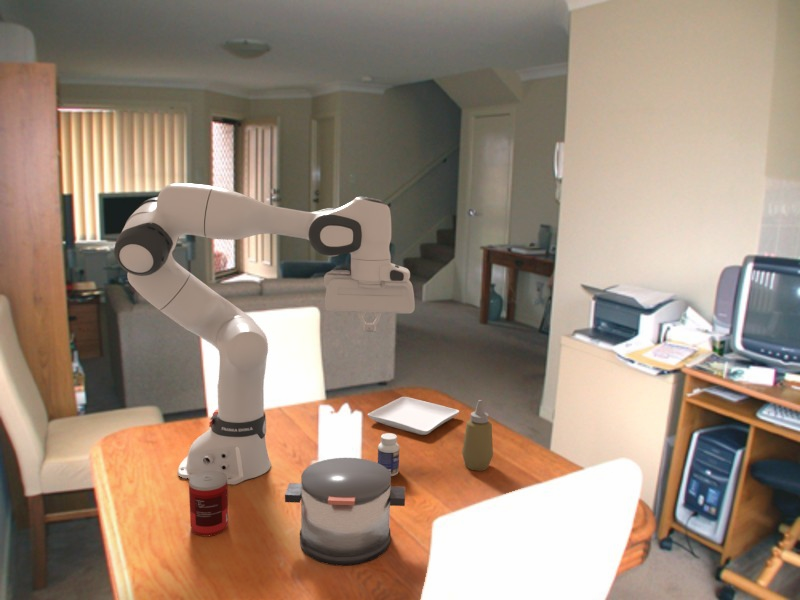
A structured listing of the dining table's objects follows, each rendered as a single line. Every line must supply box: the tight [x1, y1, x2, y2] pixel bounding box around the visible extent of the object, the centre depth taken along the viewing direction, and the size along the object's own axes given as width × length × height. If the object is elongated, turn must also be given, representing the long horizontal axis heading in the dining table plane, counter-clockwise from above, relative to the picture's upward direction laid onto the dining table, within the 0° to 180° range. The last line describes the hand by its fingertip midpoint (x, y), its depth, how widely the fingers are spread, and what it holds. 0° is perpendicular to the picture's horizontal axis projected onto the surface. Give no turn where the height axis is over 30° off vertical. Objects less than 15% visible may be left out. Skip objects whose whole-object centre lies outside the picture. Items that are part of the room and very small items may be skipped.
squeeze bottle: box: [461, 399, 494, 472], centre depth 168 cm, size 8×8×18 cm
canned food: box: [188, 471, 229, 537], centre depth 137 cm, size 8×8×11 cm
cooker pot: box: [284, 482, 406, 567], centre depth 134 cm, size 24×20×12 cm
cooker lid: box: [300, 457, 392, 505], centre depth 131 cm, size 18×20×2 cm
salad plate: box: [367, 396, 460, 436], centre depth 199 cm, size 21×21×3 cm
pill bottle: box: [377, 432, 400, 477], centre depth 164 cm, size 5×5×10 cm
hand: (369, 331), depth 148 cm, fingers closed
